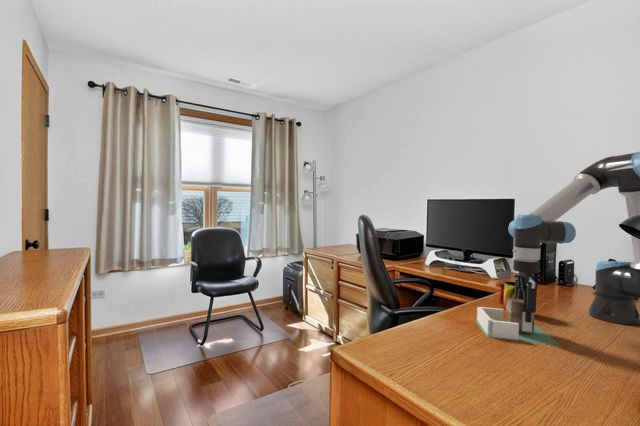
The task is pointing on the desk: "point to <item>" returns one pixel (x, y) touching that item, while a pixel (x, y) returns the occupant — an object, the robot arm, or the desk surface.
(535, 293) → the robot arm
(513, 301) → the player block
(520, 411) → the desk surface
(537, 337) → the mat
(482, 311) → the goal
